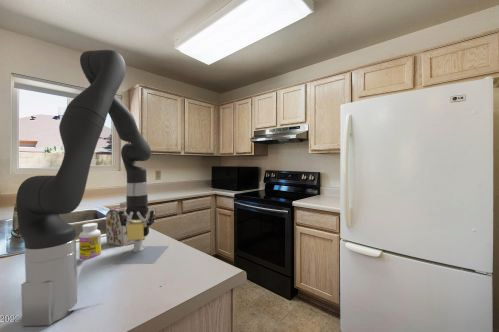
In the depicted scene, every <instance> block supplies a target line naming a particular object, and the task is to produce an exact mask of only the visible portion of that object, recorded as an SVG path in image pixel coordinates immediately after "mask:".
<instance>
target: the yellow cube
mask: <svg viewBox="0 0 499 332" xmlns="http://www.w3.org/2000/svg"><path fill="white" fill-rule="evenodd" d="M146 237H147V236H145V237H144V224H143V223H142V222H141V221H133V222H131V223H130V224H127V240H141V239H143V238H145V239H146ZM143 240H144V239H143Z"/></svg>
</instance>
